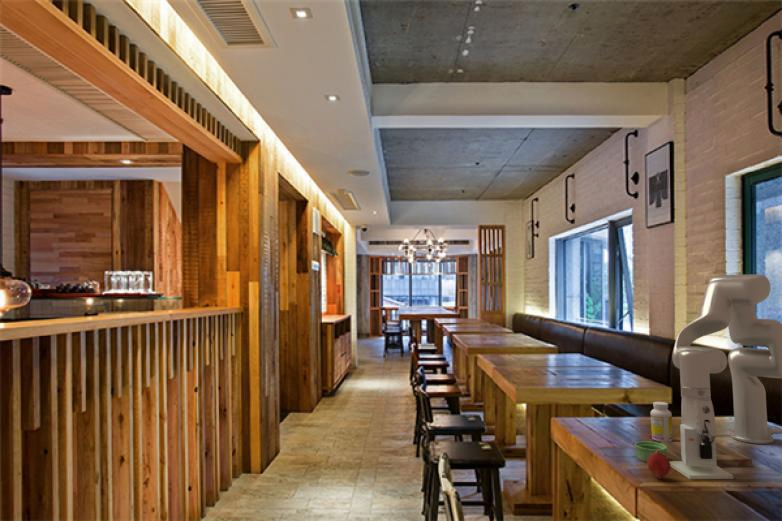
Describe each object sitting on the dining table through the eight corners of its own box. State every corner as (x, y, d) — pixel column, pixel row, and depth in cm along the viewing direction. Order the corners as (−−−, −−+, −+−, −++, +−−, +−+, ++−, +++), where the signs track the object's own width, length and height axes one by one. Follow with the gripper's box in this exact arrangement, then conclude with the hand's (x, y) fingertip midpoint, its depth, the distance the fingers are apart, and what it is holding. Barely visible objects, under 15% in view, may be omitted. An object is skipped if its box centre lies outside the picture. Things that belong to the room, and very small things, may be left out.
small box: (711, 461, 152) (710, 425, 153) (717, 468, 147) (715, 430, 148) (680, 459, 155) (679, 423, 155) (685, 465, 150) (684, 428, 150)
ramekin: (670, 465, 156) (669, 450, 157) (637, 463, 159) (636, 448, 159) (664, 456, 165) (663, 442, 165) (633, 453, 168) (632, 440, 168)
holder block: (715, 447, 172) (715, 441, 173) (752, 466, 154) (751, 459, 155) (660, 448, 173) (660, 442, 173) (691, 466, 155) (691, 459, 155)
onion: (643, 475, 149) (642, 446, 149) (662, 474, 149) (661, 445, 150) (655, 482, 143) (654, 453, 143) (675, 481, 143) (674, 452, 144)
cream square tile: (707, 464, 157) (707, 460, 157) (733, 478, 145) (732, 475, 145) (667, 464, 157) (667, 461, 157) (689, 479, 145) (689, 475, 145)
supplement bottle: (668, 437, 185) (666, 401, 185) (676, 443, 178) (674, 405, 179) (648, 437, 185) (647, 400, 186) (656, 442, 179) (654, 405, 179)
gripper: (727, 398, 143) (730, 464, 142) (691, 386, 161) (694, 445, 160) (699, 399, 143) (703, 464, 143) (667, 387, 161) (670, 445, 160)
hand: (698, 453), depth 151 cm, fingers closed on small box, 6 cm apart
